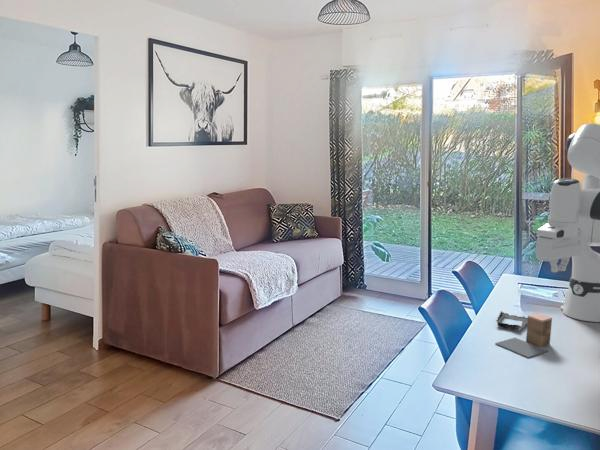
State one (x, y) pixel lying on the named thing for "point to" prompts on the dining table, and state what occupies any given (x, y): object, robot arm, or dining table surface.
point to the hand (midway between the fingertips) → (558, 271)
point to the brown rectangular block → (538, 330)
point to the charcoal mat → (521, 347)
